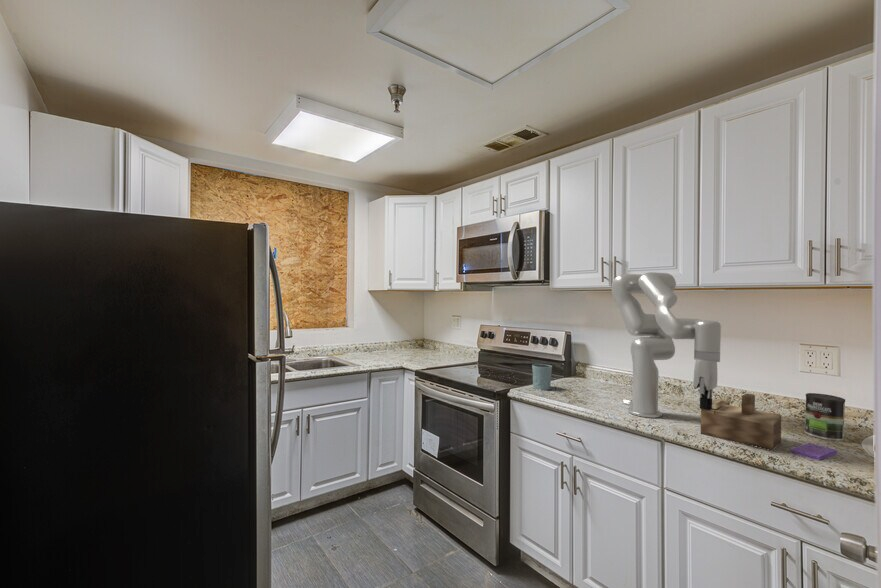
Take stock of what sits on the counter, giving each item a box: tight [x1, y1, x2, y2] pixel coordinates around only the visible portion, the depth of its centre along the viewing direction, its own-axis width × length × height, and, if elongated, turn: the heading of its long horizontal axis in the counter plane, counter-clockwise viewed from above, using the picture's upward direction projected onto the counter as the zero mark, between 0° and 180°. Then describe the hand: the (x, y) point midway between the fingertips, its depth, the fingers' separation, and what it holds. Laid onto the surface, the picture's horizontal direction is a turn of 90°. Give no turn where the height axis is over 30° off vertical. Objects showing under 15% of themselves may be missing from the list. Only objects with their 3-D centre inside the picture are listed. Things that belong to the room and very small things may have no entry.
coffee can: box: [804, 392, 846, 442], centre depth 144 cm, size 10×10×14 cm
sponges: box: [790, 442, 838, 461], centre depth 127 cm, size 7×13×2 cm, turn 117°
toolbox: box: [700, 400, 782, 451], centre depth 142 cm, size 20×20×9 cm
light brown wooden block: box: [712, 397, 724, 409], centre depth 145 cm, size 4×8×2 cm, turn 132°
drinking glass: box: [531, 363, 553, 391], centre depth 209 cm, size 10×10×12 cm
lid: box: [715, 393, 782, 426], centre depth 140 cm, size 19×14×7 cm
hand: (705, 409), depth 140 cm, fingers closed
